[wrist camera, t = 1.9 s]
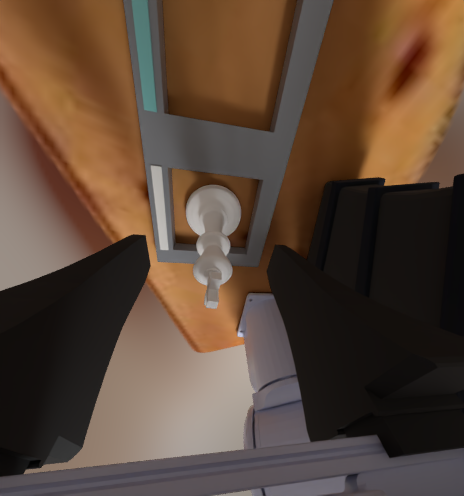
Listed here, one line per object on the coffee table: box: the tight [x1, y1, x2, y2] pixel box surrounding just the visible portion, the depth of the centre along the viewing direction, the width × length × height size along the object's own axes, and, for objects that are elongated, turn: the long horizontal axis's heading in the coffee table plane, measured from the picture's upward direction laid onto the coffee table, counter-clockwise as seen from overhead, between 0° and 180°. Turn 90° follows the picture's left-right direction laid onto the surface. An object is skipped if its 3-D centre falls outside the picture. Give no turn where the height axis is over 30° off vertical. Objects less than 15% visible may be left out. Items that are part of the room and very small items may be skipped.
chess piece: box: [186, 185, 241, 309], centre depth 11 cm, size 5×5×10 cm
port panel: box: [123, 0, 333, 267], centre depth 12 cm, size 20×10×1 cm, turn 172°
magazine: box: [307, 174, 464, 414], centre depth 12 cm, size 4×13×15 cm, turn 4°
